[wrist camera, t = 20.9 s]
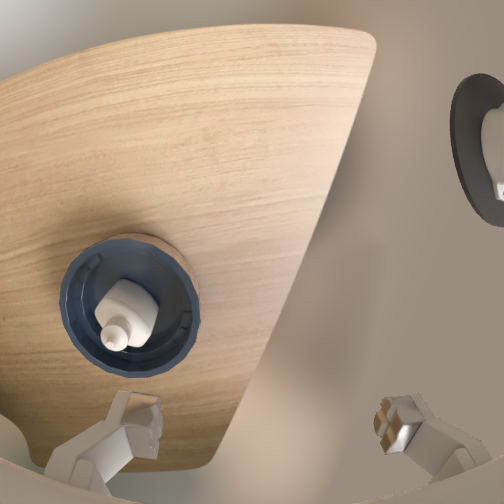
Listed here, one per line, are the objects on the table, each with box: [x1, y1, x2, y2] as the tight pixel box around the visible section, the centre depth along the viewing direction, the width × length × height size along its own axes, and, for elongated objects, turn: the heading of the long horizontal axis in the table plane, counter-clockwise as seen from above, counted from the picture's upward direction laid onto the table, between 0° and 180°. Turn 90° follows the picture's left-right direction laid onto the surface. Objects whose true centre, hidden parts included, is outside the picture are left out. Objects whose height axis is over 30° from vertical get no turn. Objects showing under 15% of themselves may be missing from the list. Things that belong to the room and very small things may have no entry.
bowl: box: [59, 233, 201, 378], centre depth 32 cm, size 15×15×6 cm
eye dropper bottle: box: [95, 279, 159, 351], centre depth 28 cm, size 4×6×12 cm
